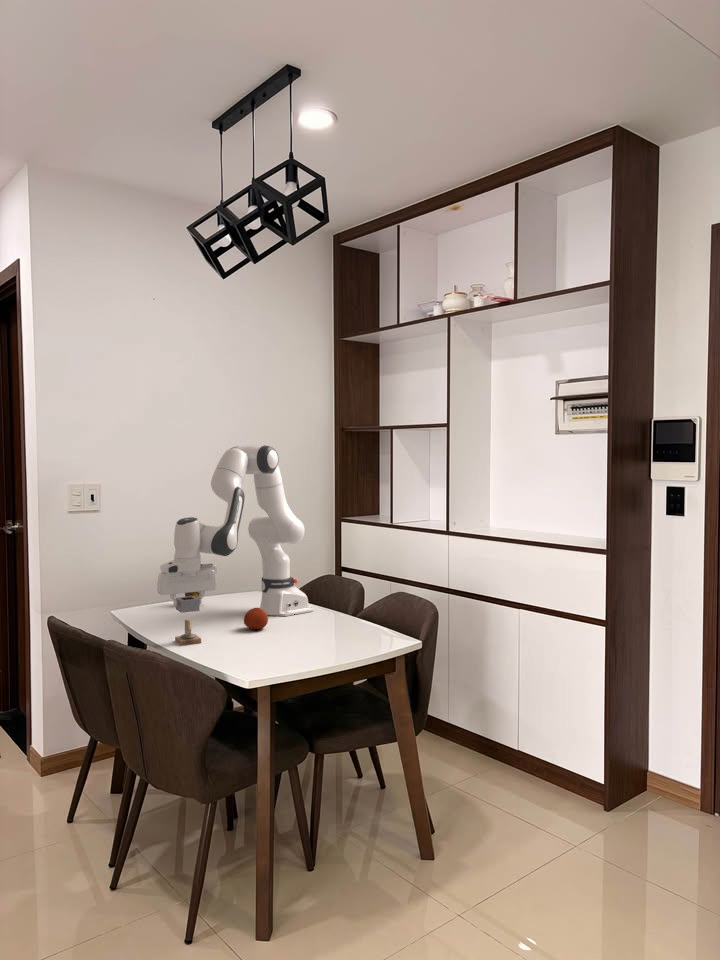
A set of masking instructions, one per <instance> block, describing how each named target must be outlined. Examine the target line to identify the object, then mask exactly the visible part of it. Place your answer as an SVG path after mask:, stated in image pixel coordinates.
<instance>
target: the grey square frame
mask: <svg viewBox="0 0 720 960" xmlns="http://www.w3.org/2000/svg"><path fill="white" fill-rule="evenodd" d="M175 599H176V601H179V607H175V610H176V611H178V612H179V613H181V614H182V613H183V614H184V613H191V612H192V613H193V612H200V607H201V606H200V605H201V604H200V599H198V598H196V597H195V596H189V597H185V596H180V597H175Z"/></svg>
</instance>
